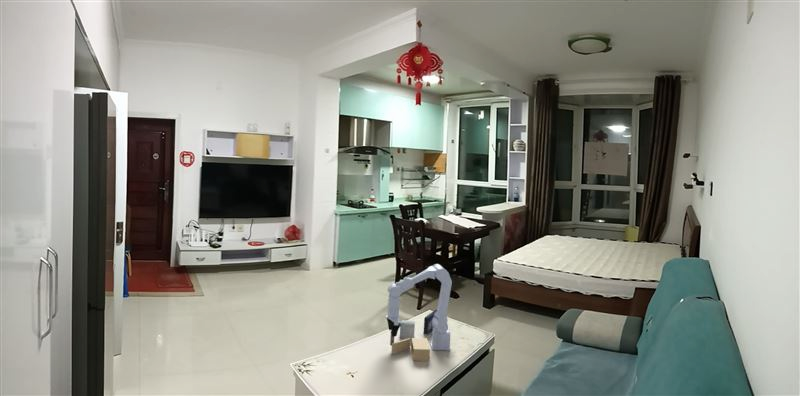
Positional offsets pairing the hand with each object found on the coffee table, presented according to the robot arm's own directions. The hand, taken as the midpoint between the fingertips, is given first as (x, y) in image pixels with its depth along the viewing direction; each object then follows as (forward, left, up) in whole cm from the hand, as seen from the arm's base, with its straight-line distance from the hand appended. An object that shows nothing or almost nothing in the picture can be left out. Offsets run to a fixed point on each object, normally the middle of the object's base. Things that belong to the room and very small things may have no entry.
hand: (392, 332), depth 206 cm
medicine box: (-9, -15, -9) cm, 20 cm away
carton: (-14, +5, -9) cm, 18 cm away
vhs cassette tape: (-25, -26, -9) cm, 37 cm away
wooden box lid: (-3, 0, -9) cm, 9 cm away
